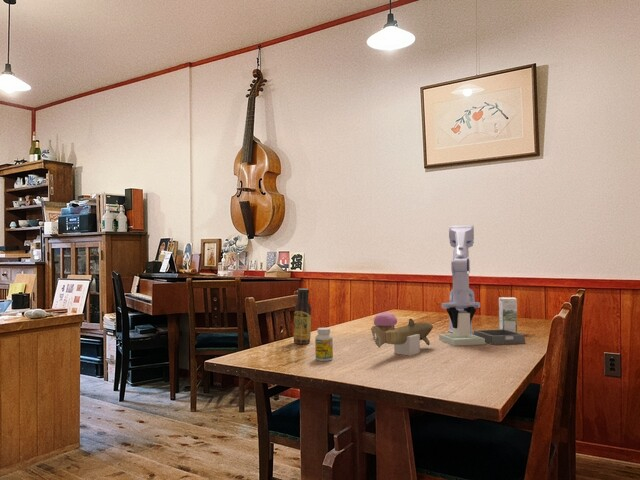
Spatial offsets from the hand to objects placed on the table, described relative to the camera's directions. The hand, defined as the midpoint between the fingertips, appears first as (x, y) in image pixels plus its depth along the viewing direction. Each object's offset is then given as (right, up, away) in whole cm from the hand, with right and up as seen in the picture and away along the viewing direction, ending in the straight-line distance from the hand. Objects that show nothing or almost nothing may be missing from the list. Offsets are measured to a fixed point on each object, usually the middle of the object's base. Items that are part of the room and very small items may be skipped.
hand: (461, 327), depth 180 cm
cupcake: (-27, -6, +9) cm, 29 cm away
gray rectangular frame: (+14, -5, +2) cm, 15 cm away
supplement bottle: (-51, -5, -28) cm, 58 cm away
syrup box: (+24, -6, +18) cm, 31 cm away
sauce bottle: (-59, -6, -1) cm, 59 cm away
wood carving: (-25, -5, -21) cm, 33 cm away
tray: (0, -5, 0) cm, 5 cm away
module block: (0, -2, 0) cm, 2 cm away
